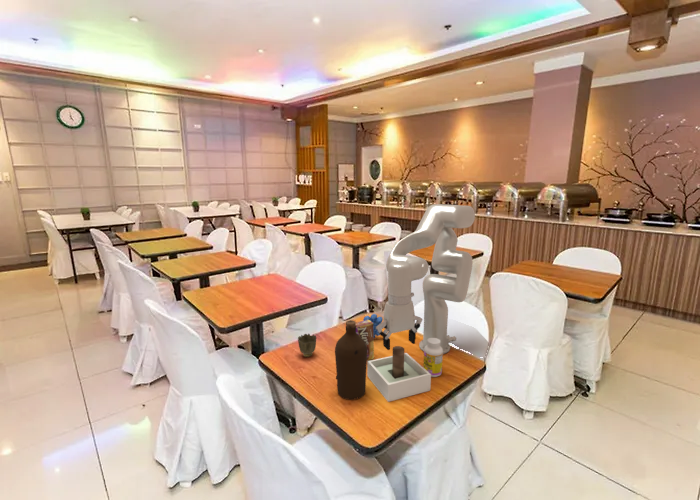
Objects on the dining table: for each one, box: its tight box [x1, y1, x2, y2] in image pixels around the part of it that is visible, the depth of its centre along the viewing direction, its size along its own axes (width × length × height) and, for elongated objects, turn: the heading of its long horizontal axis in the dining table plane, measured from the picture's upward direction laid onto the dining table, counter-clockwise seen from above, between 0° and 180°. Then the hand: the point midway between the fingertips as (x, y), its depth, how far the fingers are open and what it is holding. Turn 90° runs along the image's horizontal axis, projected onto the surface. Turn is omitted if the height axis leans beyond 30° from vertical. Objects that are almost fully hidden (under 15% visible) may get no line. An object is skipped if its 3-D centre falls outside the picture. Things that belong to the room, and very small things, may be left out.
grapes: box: [362, 313, 384, 339], centre depth 158 cm, size 12×7×12 cm, turn 93°
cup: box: [297, 333, 317, 358], centre depth 144 cm, size 8×7×8 cm
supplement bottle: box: [422, 338, 444, 378], centre depth 130 cm, size 7×7×13 cm
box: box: [366, 352, 432, 403], centre depth 124 cm, size 16×16×6 cm
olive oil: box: [334, 319, 367, 401], centre depth 118 cm, size 11×11×25 cm
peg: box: [392, 345, 405, 379], centre depth 124 cm, size 4×4×12 cm
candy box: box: [355, 320, 375, 361], centre depth 140 cm, size 9×4×15 cm, turn 116°
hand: (399, 345), depth 123 cm, fingers open, 9 cm apart
